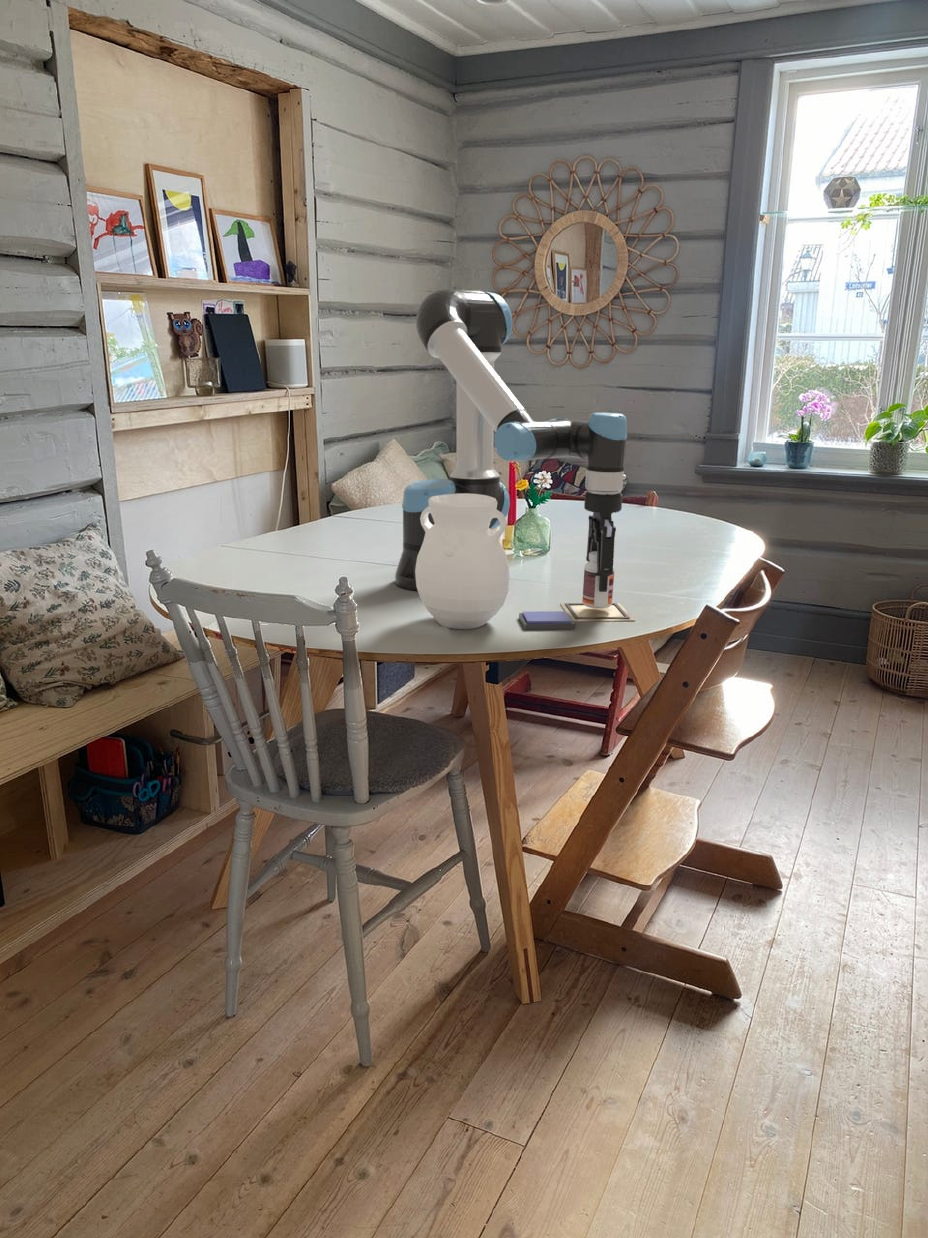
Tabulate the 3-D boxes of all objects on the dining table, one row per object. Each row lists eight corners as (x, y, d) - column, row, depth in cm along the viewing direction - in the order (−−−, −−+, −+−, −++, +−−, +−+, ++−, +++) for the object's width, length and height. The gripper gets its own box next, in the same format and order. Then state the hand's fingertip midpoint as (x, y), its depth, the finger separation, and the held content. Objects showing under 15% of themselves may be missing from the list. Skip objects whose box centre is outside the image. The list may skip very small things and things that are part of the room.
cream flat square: (572, 621, 192) (572, 619, 192) (560, 604, 204) (560, 602, 204) (634, 621, 193) (635, 618, 193) (619, 603, 206) (619, 601, 205)
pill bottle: (608, 610, 194) (611, 558, 191) (578, 607, 197) (581, 555, 193) (614, 603, 200) (618, 552, 197) (586, 599, 202) (589, 549, 199)
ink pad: (524, 629, 186) (525, 622, 185) (518, 618, 193) (519, 610, 193) (575, 629, 187) (575, 621, 186) (567, 618, 194) (567, 610, 194)
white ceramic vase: (399, 629, 184) (399, 501, 177) (435, 606, 201) (437, 488, 194) (490, 641, 178) (494, 509, 171) (520, 616, 195) (524, 495, 187)
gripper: (634, 499, 183) (626, 614, 189) (610, 484, 201) (604, 589, 208) (596, 498, 182) (589, 614, 189) (576, 484, 200) (570, 589, 207)
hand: (596, 601), depth 198 cm, fingers closed on pill bottle, 6 cm apart
